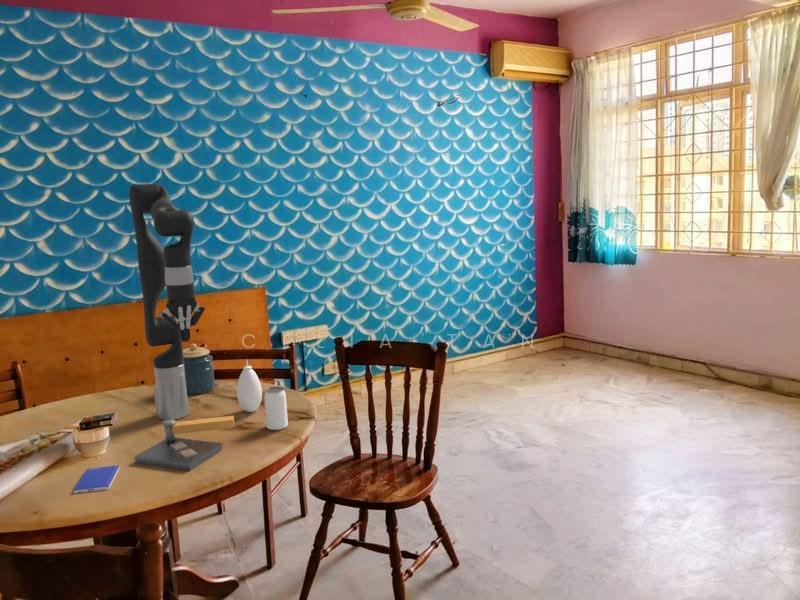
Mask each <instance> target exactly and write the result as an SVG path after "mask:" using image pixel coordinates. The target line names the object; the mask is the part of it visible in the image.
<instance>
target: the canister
mask: <svg viewBox="0 0 800 600" xmlns="http://www.w3.org/2000/svg"><path fill="white" fill-rule="evenodd" d="M210 352H211V351H210V350H209V349H207V348H205V347H203V346H201V347H200V346H197V344H196V343H191V344H190V345H189V347H188V348H185V349H184V348H183V359H184V368H185V378H186V388H187V396H195V395H196V396H197V395H202V394H207V393H209V392H212V391H213V390H214V389H215V388H216V387H215V385H216V381H215V374H214V372H215V371H214V364H213V363H212V360H213V359H214V358H213V356H212V354H211V353H210ZM210 354H211V355H210Z"/></svg>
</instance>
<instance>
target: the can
mask: <svg viewBox="0 0 800 600" xmlns="http://www.w3.org/2000/svg"><path fill="white" fill-rule="evenodd" d="M264 391H265V392H264V409H265V423H266V428H267V429H268V430H270V431H281V430H284V429H286V428H287V426H288V425H289V423H288V422H289V421H288V405H287V394H286V391H285V388H284V387H282V386H271V387H267V388H266V389H265V390H264Z"/></svg>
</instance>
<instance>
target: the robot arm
mask: <svg viewBox="0 0 800 600" xmlns="http://www.w3.org/2000/svg"><path fill="white" fill-rule="evenodd" d="M128 198H129V206H130V211H131V215H132V216H131V217H132V222H133V227H134V229H133V230H134V233H135V243H136V252H137V255H136V256H137V264H138V273H139V279H140V287H141V292H142V293H141V295H142V300H143V301H142V302H143V316H144V317H143V318H144V333H145V338H146V342H147V344H148V346H149V347H161V346H169V345H170V346H169V348H167V350H165V351H163V352H161V353H159V354H158V355H156V356H155V357H154V358H153V371H154V379H155V386H156V387H155V388H154V389H153V392H154V393H153V394H154V402H155V411H156V417H157V418H159V419H160V420H163V421H165V420H170V419H173V420H178V419H181V418H184V417H187V416H188V415H189V413H190V411H189V410H190V409H189V402H188V401H189V400H188V395H187V388H186V378H185V368H184V359H183V350H184V347H183V343H188V342H190V340H191V327H193V326H196V325H197V324H198V322H199V321H200V319H201V317H202V315H203V314H204V312H205V307H203V306H202V305H199V304H198V302H197V300H196V294H195V291H196V290H195V281H194V272H193V268H192V259H191V243H192V236H193V233H194V229H195V228H194V227H195V218H194V216H193V214H192V213H191V212H190V211H189V210H186V209H180V210H179V209H178V208H177V207H176V206H175V205H174V204H173V203H172V201H171V200H172V199H171V197H170V195H169V192H168V190H167V189H166V188H165V186H163V185H162V184H160V183H159V184H158V183H139V184H138V183H137V184H136V183H135V184H131V185H130V187H129V191H128ZM145 214H147V215H149V214H151V217H152V219H153V228H154V231H155V233H156V234H157V235H158V236H160V237H163V238H165V237H166V238H167V237H180V239H179V240H178V241H177V242H175V243H172V244H168V245H166V246H163V245H162V243H161V242H160V241H159V239H157V237H156V236H155V235H154V234H153V233H152V231H151V229H150V228H149V226H148V224H147V222H146V219H145V217H144V215H145ZM164 290H166V291H165V292H166V301H167V303H166V305H165V307H166V308H165V309H164V310H163V311H160V312H159V313H158V314H159V316H157V317H156V310H157V305H158V303H159V301H160V298H161V296H162V294H163V292H164ZM192 314H193V315H192Z"/></svg>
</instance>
